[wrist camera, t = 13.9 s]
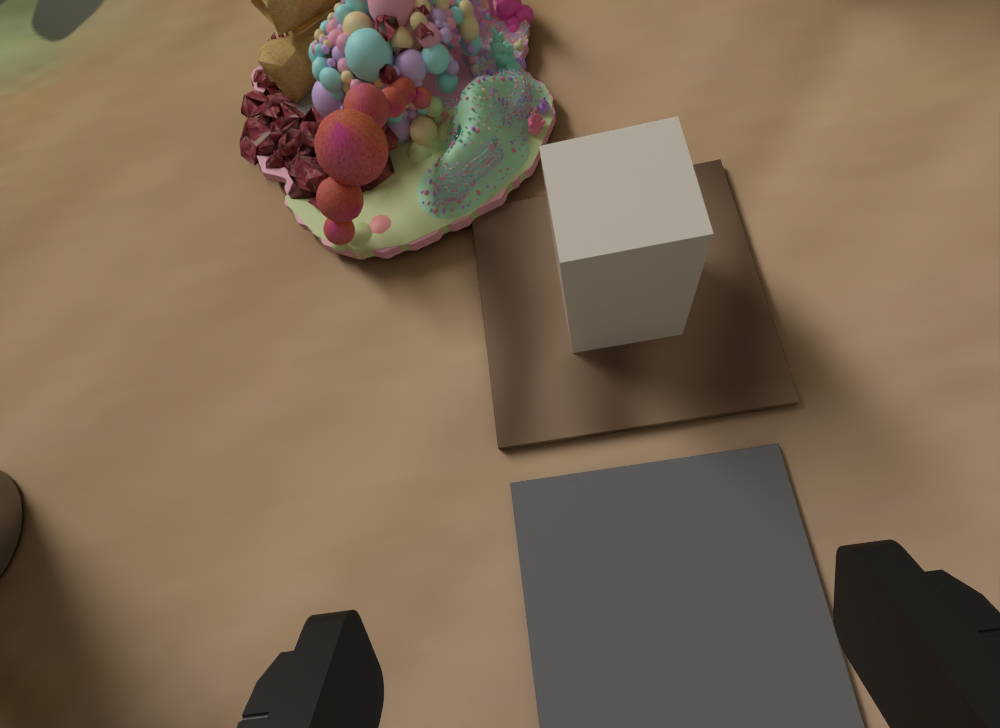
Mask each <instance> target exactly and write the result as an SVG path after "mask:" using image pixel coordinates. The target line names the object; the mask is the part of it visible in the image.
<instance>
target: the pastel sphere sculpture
mask: <svg viewBox="0 0 1000 728" xmlns="http://www.w3.org/2000/svg"><path fill="white" fill-rule="evenodd" d="M251 2H252V3H253V4H254V5H255V6H256V7H257V8H258V9H259V10H260V11H261V13H262V14H263V15H264V16H265V17H266V18H267V19H268V20H269V21H270V22H271V23H272V24H273V25H274V26H275V27H276V30H277V32H278V34H279V37H281V38H278V39H277V38H276V36H275V34H274V33H275V32H274V33H273V35H272V36H271V40H268V42H267V43H266V44H265V45H263V46H262V47H261V48H260V49H259V50H258V53H259V57H260V58H259V60H258V62H259V63H260V65H261V66H259V67H257V68H255V69H254V71H253V72H252V75H251V76H252V85H253V86H254V89H255V90H256V91H252V92H249V93H247V94H245V95H244V97H243V102H242V107H241V113H242V114H243V115H245V116H246V117H248V119H247V120H246V122H245V124H244V128H243V132H242V135H241V139H240V150H241V156H242V157H243V158H245V159H246V160H248V161H249V162H250V163H252V164H253V165H254V166H255V165H256V164H257V163H258V162H259V164H260V166H261V170H262V172H263V173H264V174H265V175H266V177H267V178H268V179H270V180H274V181H279V182H283V183H286V185H285V188H284V189H285V191H286V193H287V196H286V197H285V202H284V203H285V205H286V206H287V207H288V208H289V210H290V211H291V212H293V213H294V215H295V217H296V220H297V222H298V223H299V224H300V225H301V227H302V228H303V229H305V230H308V231H311V232H312V233H313V234H314V235H315V236H316V238H317V239H318V240H319V241H321V242H322V243H323V245H324V246H325V247H326V248H327V249H328V250H329V251H331V252H335V253H338V254H341V255H345V256H348V257H352V258H356V259H360V260H362V259H366V258H369V257H373V256H376V257H381V258H386V259H387V258H391V257H393V256H394V255H397V254H400V253H402V252H403V251H408V250H412V251H416V250H419V249H420V248H422V247H425V246H428V245H429V244H431V243H433V242H436V241H438V240H439V239H440V238H441V237H442V235H443V234H445V233H447V232H449V231H458V230H460V229H462V228H464V227H468V226H469V225H470V224H471V223H472V221H473V220H474V219H475V218H476V217H478V216H481V215H483V214H484V213H486V212H489V211H491V210H493V209H495V208H496V207H499V206H502V205H503V204H504V203H505V201H506V198H507V196H508V194H509V193H510V192H511V191H512V190H513V189H516V188H518V187H519V186H520V184H521V182H522V181H523V180H524V179H526V178H529V177H530V176H532V174H533V173H534V171H535V169H536V166H537V164H538V162H539V160H540V158H541V156H540V149H539V146H542V145H546V143H547V141H548V139H549V136H550V134H551V132H552V129H553V127H554V125H555V122H556V114H555V109H554V103H553V96H552V95H551V94H550V93H549V91H548V89H547V88H546V85H545V84H544V83H543V82H541V81H538V80H535V79H534V78H533V76H532V75H531V74H530V73H528V72H526V71H525V69H526V62H525V58H526V56H527V54H528V51H529V47H528V42H529V39H528V37H529V35H530V31H529V27H530V24H529V23H530V22H531V21H532V19H533V11H532V9H531V8H530V7H529V6H528V5H522V3H521V1H520V0H251ZM283 33H286V37H284V35H283ZM260 114H262V115H260ZM257 115H260V116H259V117H257V118H255V117H254V116H257Z"/></svg>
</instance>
